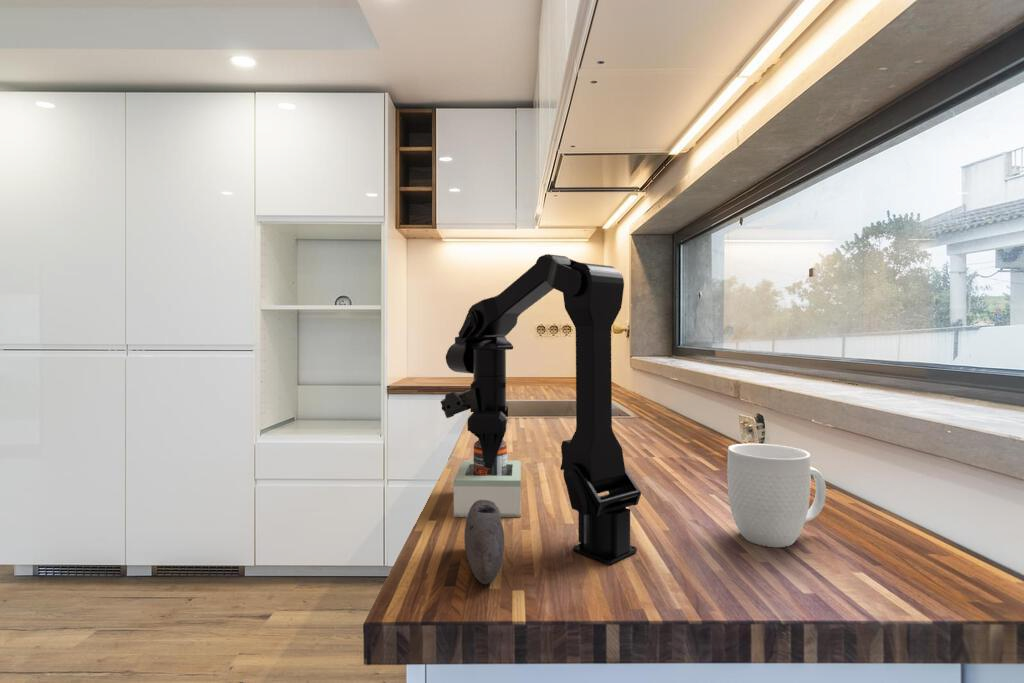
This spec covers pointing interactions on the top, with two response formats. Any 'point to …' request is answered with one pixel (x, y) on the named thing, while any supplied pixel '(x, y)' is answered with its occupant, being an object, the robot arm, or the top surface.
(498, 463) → the supplement bottle
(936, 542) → the top surface
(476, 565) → the perforated stone tool
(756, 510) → the mug
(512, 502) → the green and cream box
